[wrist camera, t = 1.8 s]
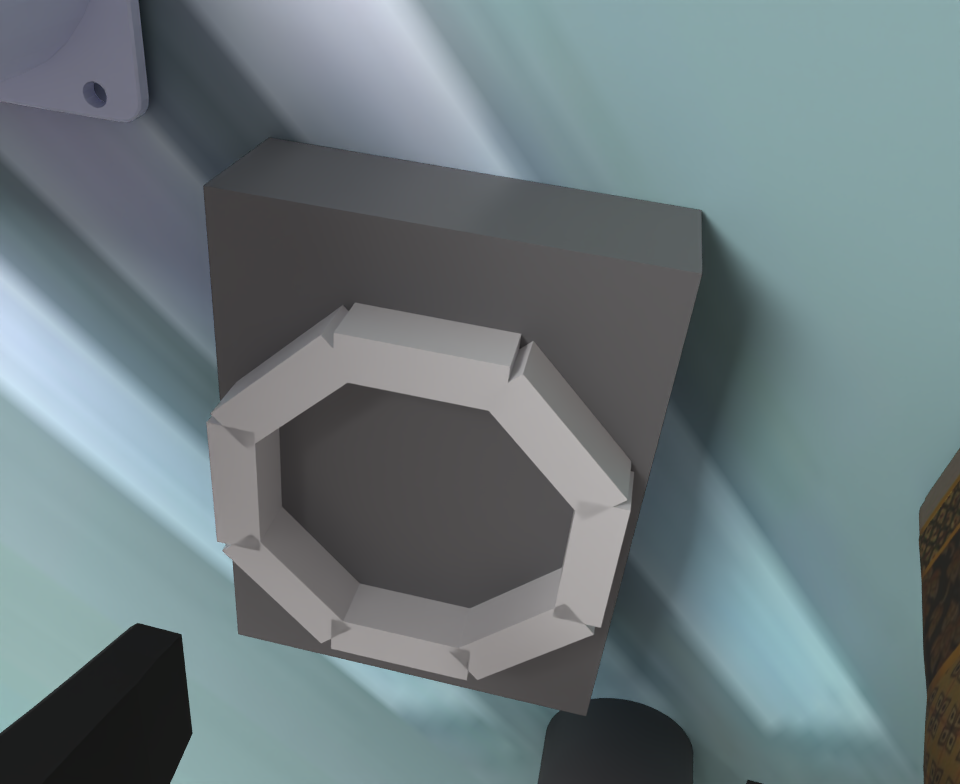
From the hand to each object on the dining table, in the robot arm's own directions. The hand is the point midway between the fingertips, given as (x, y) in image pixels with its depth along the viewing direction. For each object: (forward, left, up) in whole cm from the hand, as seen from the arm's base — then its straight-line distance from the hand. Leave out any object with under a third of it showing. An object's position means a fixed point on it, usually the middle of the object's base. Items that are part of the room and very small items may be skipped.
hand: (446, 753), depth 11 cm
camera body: (-2, -2, -11) cm, 11 cm away
